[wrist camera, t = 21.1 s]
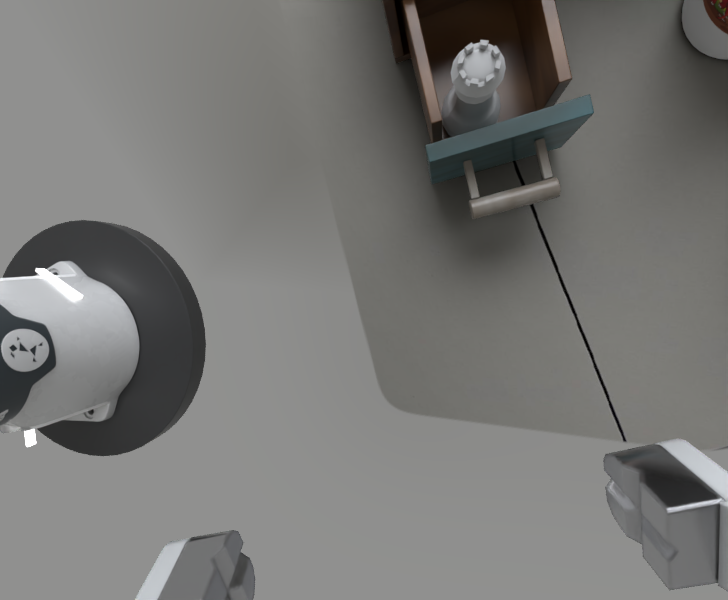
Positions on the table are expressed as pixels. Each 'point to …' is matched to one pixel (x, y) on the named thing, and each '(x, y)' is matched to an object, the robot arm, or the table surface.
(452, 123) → the rook chess piece
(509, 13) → the drawer
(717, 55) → the milk bottle
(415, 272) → the table surface
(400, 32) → the cabinet
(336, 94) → the table surface
